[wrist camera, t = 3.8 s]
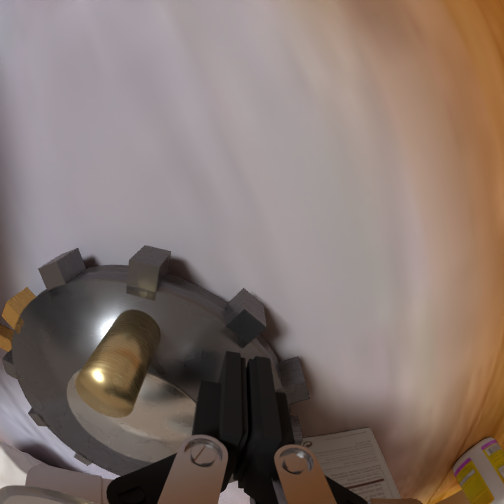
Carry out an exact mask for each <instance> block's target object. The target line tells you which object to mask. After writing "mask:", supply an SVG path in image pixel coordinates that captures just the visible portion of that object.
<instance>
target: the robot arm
mask: <svg viewBox="0 0 504 504" xmlns="http://www.w3.org/2000/svg"><path fill="white" fill-rule="evenodd" d="M232 474H233V480H237V481H238V488H244V492H245V493H246V494H248V495H249V496H250V504H423V503H422V502H421V501H419V500H417V499H412V498H408V499H377V498H370V499H369V500H365V499H363V498H362V497H361V496H359V495H357V494H355V493H354V492H352V491H350V490H349V489H347V488H345V487H344V486H342V485H340V484H339V483H337V482H335V481H334V480H332V479H331V478H329V477H327V476H326V475H324V473H323V471H322V469H321V466H320V464H319V462H318V460H317V458H316V456H315V455H314V453H313V452H311V451H310V450H309V449H307V448H305V447H303V446H300V445H295V441H294V435H293V430H292V425H291V419H290V414H289V409H288V404H287V398H286V395H285V393H282V392H275V387H274V381H273V374H272V368H271V361H270V358H266V357H259V356H255V357H254V359H249V360H248V363H247V367H246V358H243V357H241V354H240V353H236V352H230V351H226V353H225V357H224V361H223V365H222V369H221V373H220V377H219V381H218V383H214V382H209V381H204V380H201V381H200V386H199V391H198V396H197V402H196V408H195V414H194V421H193V428H192V435H191V436H190V437H188V438H186V439H185V440H183V442H182V443H181V445H180V447H179V449H178V452H177V453H175V454H173V455H171V456H168V457H166V458H164V459H162V460H160V461H157V462H155V463H153V464H150V465H148V466H146V467H143V468H141V469H138V470H136V471H133V472H131V473H128V474H126V475H123V476H121V477H118V478H116V479H114V480H111V479H104V478H102V477H101V476H98V475H92V474H86V473H81V472H76V471H71V470H66V469H62V468H57V467H53V466H49V465H42V464H39V465H35V466H33V467H32V468H31V469H29V471H28V473H27V477H26V483H25V485H10V486H5V487H3V488H1V489H0V504H218V500H219V496H220V493H221V492H223V491H224V490H225V489H226V487H227V485H228V483H229V480H230V478H231V476H232Z"/></svg>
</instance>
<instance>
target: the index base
mask: <svg viewBox="0 0 504 504" xmlns="http://www.w3.org/2000/svg"><path fill="white" fill-rule="evenodd" d="M13 333H14V331H13V330H11V329H9V328H7V327H5V326H3V325H1V324H0V348H2V349H3V350H5V351H7V352H9V351H10V350H11V349H12V339H13Z"/></svg>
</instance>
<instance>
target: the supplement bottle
mask: <svg viewBox="0 0 504 504" xmlns="http://www.w3.org/2000/svg"><path fill="white" fill-rule="evenodd" d="M453 473H454V475H455V477H456V478H457V480H458V482H459V484H460V486H461V487H462V489H463V491H464V493H465V494H466V496H467V498H468V500H469V502H470V504H504V451H503V450H502V448H501V447H500V445H499V444H498V443H497V441H496V440H495V439H494V438H492V437H489V438H486V439H483V440H482V441H480V442H478V443H477V444H476V445H474V446H473V447H472V448H470V449H469V450H468V451H467V452H466V453H464V454H463V455H462V456H461V457H460V458H459V459H458V461H457V462H456V463H455V465H454V467H453Z"/></svg>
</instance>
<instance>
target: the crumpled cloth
mask: <svg viewBox="0 0 504 504" xmlns="http://www.w3.org/2000/svg"><path fill="white" fill-rule="evenodd" d="M39 464H42V465H47V464H45V463H43V462H41V461H39V460H37V459H35V458H33V457H32V456H31V455H30V454H28V453H24V452H21V451H20V450H18V449H17V448H15V447H13V446H11V445H9V444H7V443H4V442H0V489H1V488H3V487H5V486H10V485H25V483H26V477H27V473H28V471H29V469H31V468H32V467H33V466H35V465H39Z"/></svg>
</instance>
